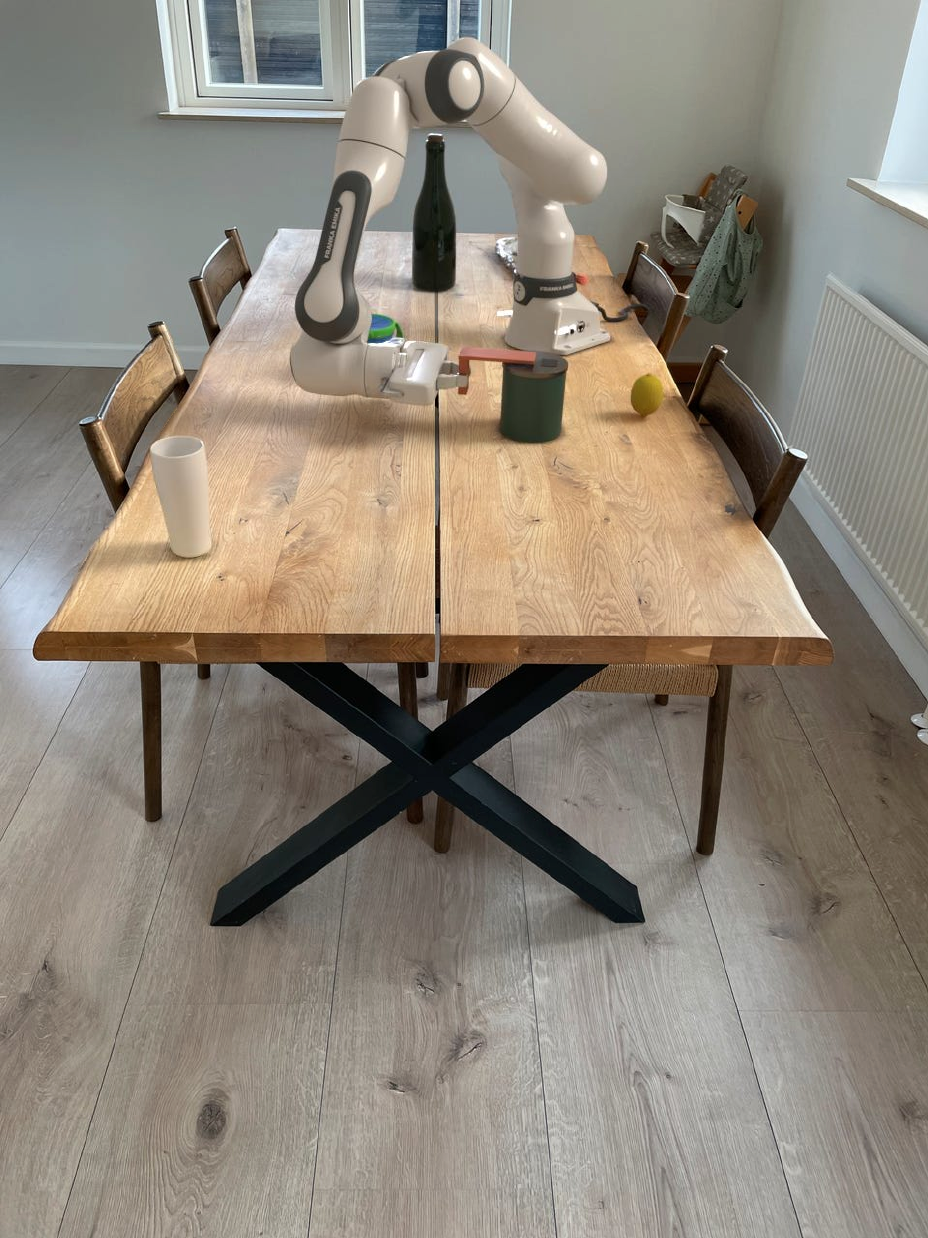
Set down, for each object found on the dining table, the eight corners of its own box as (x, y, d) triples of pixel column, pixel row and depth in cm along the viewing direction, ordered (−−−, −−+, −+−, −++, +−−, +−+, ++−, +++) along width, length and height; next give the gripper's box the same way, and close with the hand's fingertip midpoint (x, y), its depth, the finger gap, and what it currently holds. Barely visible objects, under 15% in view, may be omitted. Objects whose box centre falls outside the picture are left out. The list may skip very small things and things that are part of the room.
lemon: (662, 413, 177) (668, 370, 172) (656, 425, 172) (663, 381, 168) (631, 408, 178) (636, 365, 174) (625, 420, 174) (630, 376, 169)
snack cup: (389, 359, 196) (389, 307, 190) (417, 376, 188) (417, 322, 183) (318, 372, 188) (315, 319, 183) (344, 391, 181) (342, 336, 175)
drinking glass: (170, 537, 136) (153, 435, 127) (220, 536, 136) (207, 434, 128) (162, 562, 130) (144, 458, 122) (214, 561, 131) (200, 457, 122)
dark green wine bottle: (464, 285, 239) (468, 133, 220) (439, 295, 231) (442, 139, 213) (427, 277, 243) (429, 128, 225) (403, 287, 236) (402, 134, 217)
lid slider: (457, 395, 165) (458, 355, 161) (460, 386, 169) (462, 346, 165) (531, 401, 164) (534, 360, 160) (533, 391, 168) (536, 351, 164)
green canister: (495, 440, 165) (498, 370, 158) (501, 415, 174) (505, 347, 167) (560, 446, 164) (566, 375, 157) (563, 420, 173) (569, 352, 166)
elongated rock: (524, 252, 271) (488, 254, 270) (524, 231, 268) (487, 234, 267) (554, 281, 241) (514, 284, 240) (555, 258, 238) (514, 261, 237)
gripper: (374, 375, 156) (461, 379, 155) (397, 333, 173) (476, 337, 172) (375, 413, 160) (461, 417, 158) (398, 369, 177) (475, 372, 175)
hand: (469, 375), depth 165 cm, fingers closed on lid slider, 3 cm apart
